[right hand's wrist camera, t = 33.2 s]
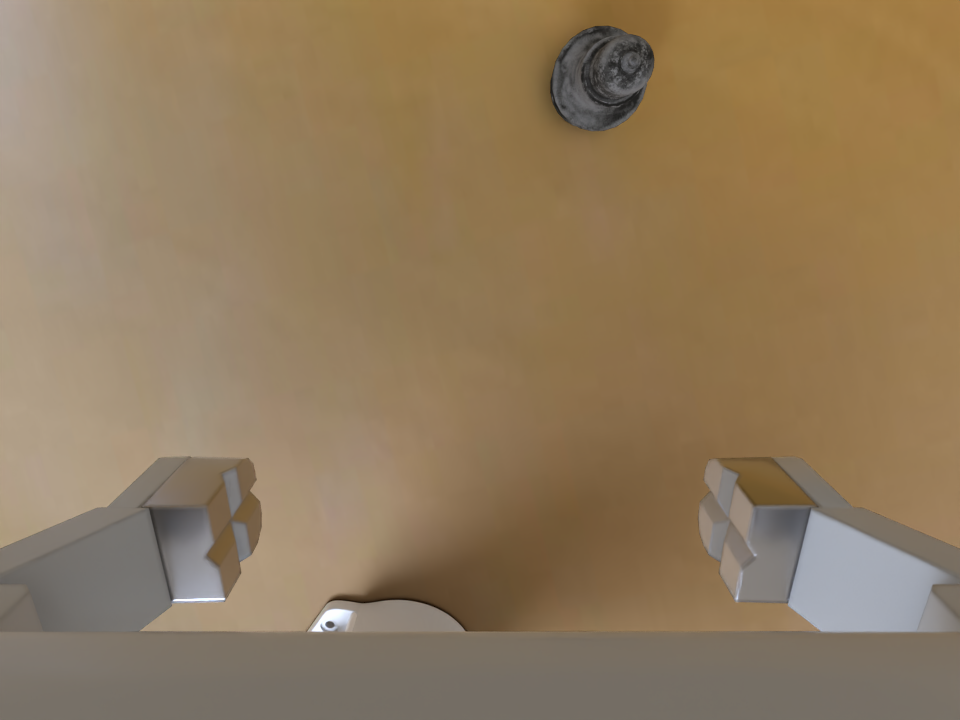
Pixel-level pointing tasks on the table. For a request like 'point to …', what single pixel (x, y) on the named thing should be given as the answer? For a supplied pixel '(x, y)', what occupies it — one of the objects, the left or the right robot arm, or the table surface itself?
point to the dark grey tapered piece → (601, 77)
